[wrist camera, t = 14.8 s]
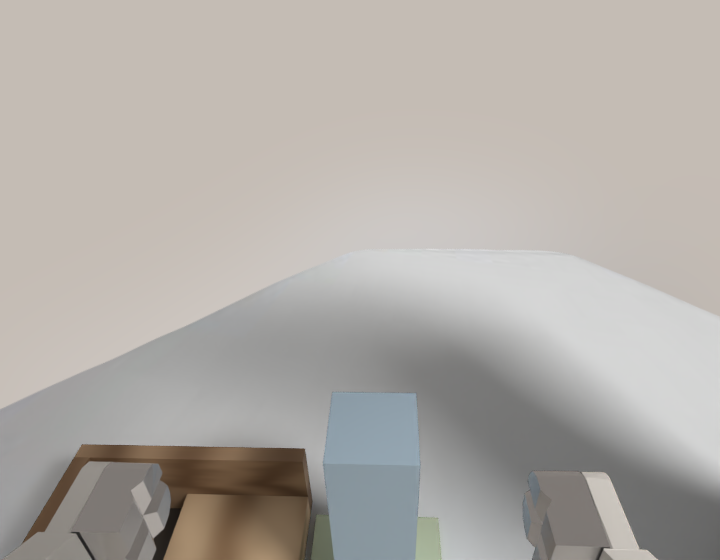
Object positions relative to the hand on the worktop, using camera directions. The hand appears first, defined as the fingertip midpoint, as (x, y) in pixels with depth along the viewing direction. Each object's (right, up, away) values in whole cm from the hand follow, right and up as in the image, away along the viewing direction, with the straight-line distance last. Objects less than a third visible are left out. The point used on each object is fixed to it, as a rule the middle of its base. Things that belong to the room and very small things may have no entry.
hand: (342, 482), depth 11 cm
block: (+2, -18, +26) cm, 32 cm away
